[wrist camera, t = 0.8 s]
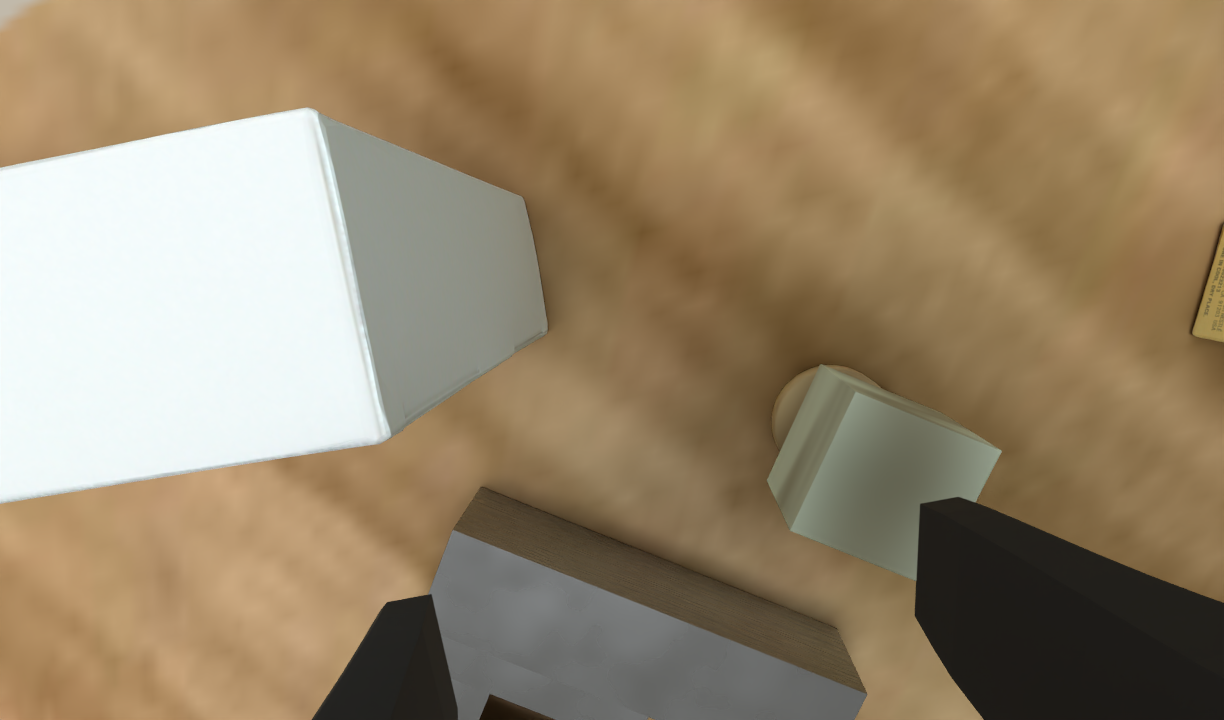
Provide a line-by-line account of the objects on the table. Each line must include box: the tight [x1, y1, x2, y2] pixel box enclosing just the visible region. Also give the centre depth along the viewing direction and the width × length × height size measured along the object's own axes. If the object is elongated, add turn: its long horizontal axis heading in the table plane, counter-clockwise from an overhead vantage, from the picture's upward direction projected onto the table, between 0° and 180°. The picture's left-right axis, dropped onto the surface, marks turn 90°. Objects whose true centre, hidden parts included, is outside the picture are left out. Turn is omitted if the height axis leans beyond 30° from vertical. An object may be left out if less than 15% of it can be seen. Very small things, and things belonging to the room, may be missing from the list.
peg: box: [767, 364, 1002, 581], centre depth 23 cm, size 4×4×7 cm
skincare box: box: [0, 108, 548, 504], centre depth 19 cm, size 21×6×16 cm, turn 100°
